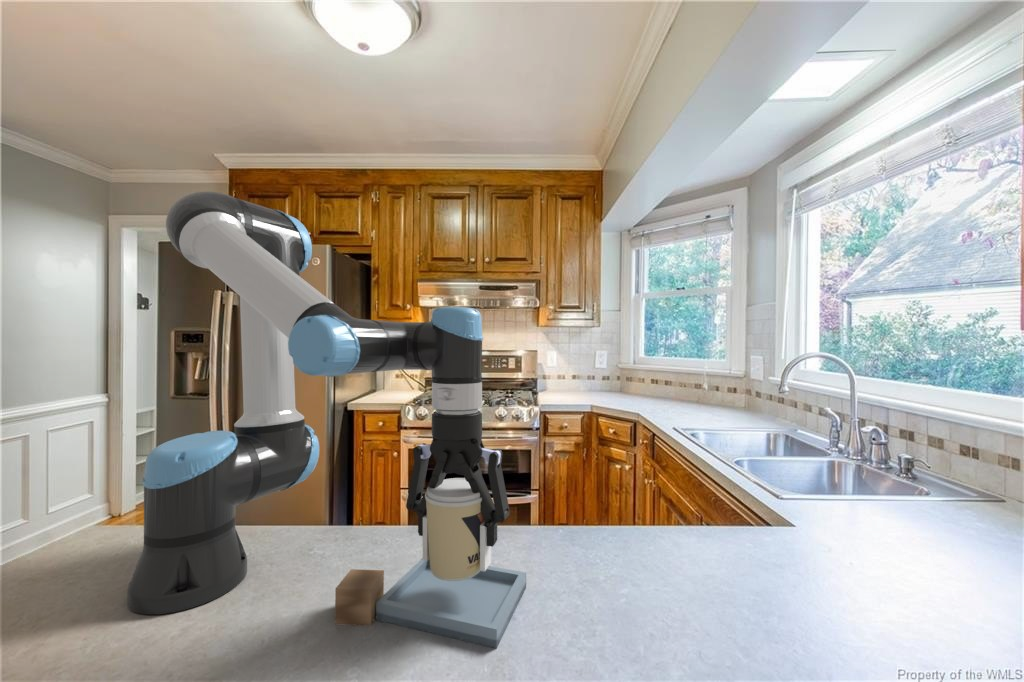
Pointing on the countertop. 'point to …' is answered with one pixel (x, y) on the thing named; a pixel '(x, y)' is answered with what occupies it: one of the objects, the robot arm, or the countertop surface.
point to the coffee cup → (454, 530)
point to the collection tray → (454, 603)
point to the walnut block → (358, 597)
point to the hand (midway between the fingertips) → (456, 561)
